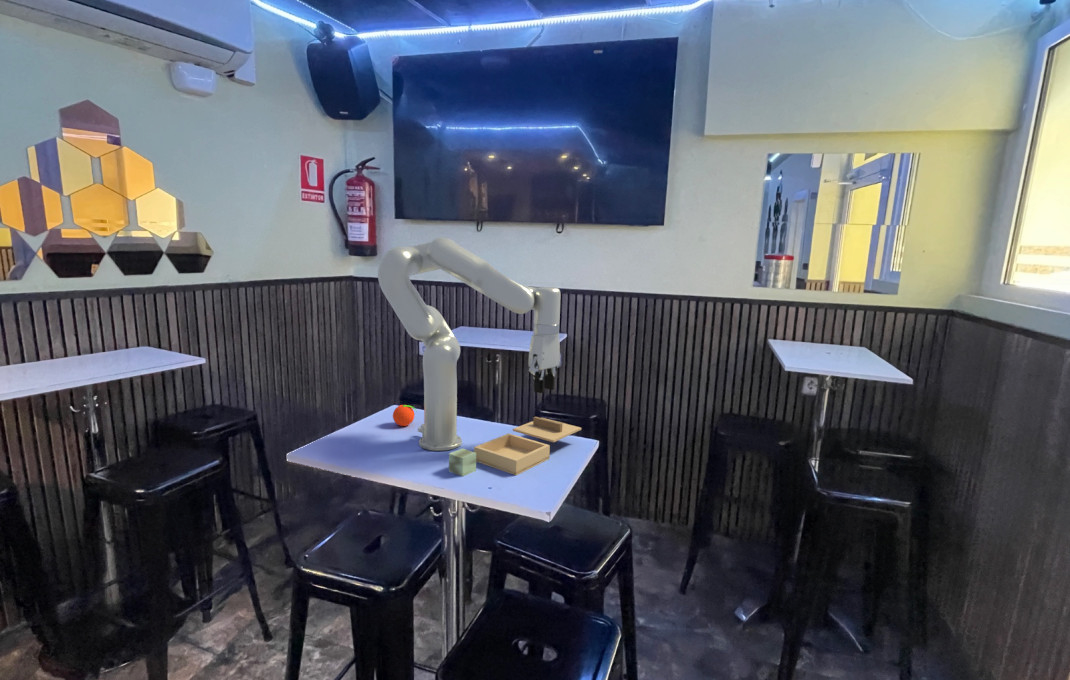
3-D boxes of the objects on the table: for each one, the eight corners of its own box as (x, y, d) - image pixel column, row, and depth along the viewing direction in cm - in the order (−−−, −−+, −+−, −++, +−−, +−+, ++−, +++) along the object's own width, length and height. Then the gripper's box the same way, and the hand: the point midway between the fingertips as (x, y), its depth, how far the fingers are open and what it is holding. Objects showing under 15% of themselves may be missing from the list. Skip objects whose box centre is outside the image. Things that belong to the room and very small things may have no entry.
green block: (448, 471, 137) (449, 453, 136) (462, 466, 141) (462, 448, 140) (462, 476, 134) (462, 458, 133) (475, 470, 138) (476, 452, 137)
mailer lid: (512, 430, 157) (512, 420, 156) (541, 419, 169) (542, 410, 168) (553, 442, 148) (554, 432, 148) (581, 429, 160) (581, 419, 160)
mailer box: (473, 460, 144) (474, 446, 144) (508, 446, 156) (508, 433, 156) (516, 475, 135) (516, 460, 135) (549, 458, 147) (549, 445, 147)
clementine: (419, 422, 175) (419, 402, 174) (415, 429, 168) (415, 408, 167) (395, 421, 175) (395, 401, 174) (390, 428, 168) (390, 407, 167)
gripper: (552, 325, 161) (550, 383, 163) (518, 331, 147) (516, 393, 150) (572, 328, 156) (570, 387, 159) (539, 334, 143) (537, 398, 146)
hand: (544, 390), depth 155 cm, fingers open, 4 cm apart
